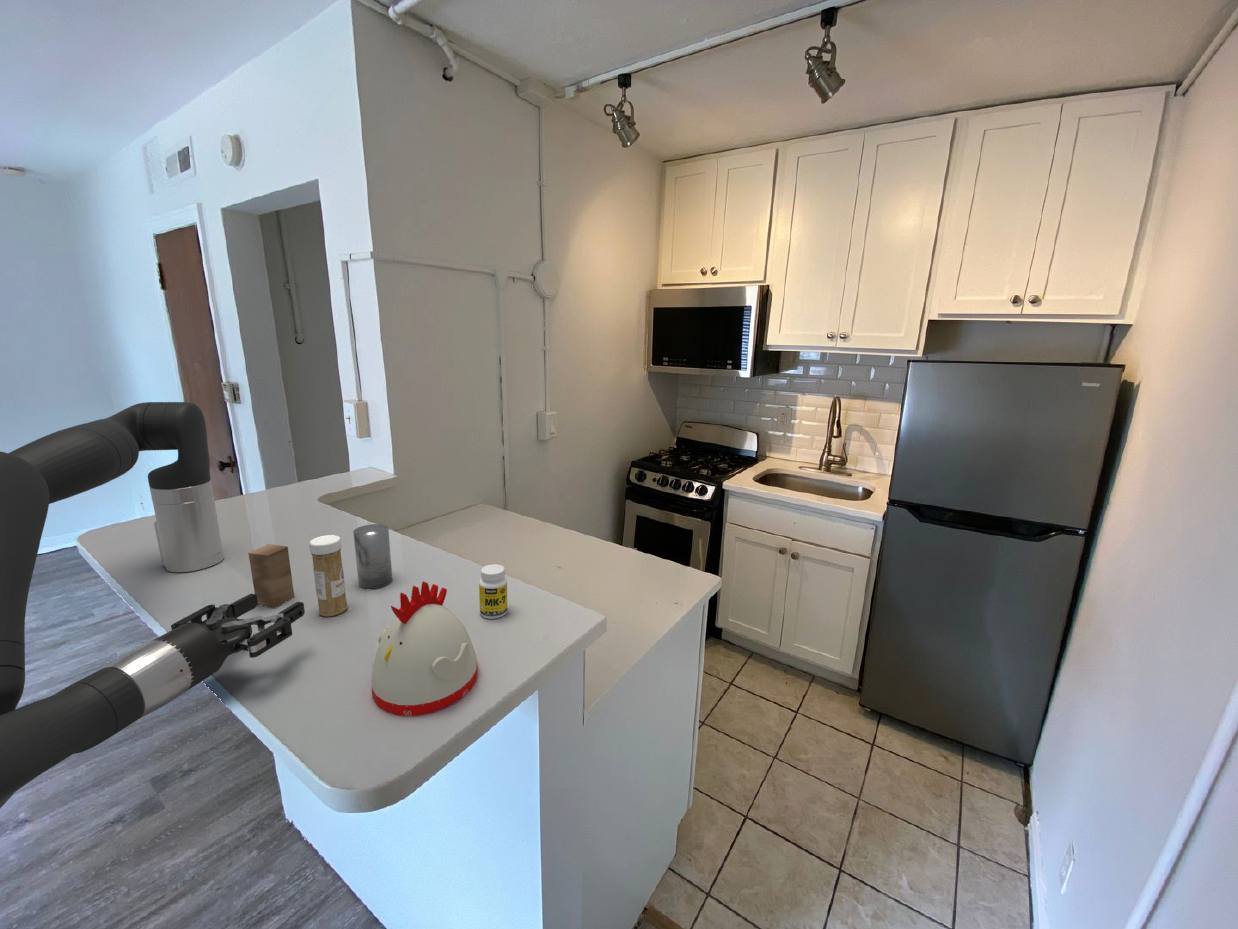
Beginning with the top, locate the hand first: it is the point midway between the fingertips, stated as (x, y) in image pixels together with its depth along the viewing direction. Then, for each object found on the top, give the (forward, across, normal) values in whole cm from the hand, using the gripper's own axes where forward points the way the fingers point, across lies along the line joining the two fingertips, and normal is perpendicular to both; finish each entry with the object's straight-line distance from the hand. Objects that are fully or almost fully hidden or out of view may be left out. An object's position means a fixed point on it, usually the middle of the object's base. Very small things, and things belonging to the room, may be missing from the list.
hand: (278, 603), depth 76 cm
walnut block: (+10, +12, +7) cm, 17 cm away
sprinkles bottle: (+10, 0, +7) cm, 12 cm away
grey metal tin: (+21, 0, +7) cm, 22 cm away
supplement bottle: (+17, -27, +7) cm, 33 cm away
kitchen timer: (-2, -26, +7) cm, 27 cm away
